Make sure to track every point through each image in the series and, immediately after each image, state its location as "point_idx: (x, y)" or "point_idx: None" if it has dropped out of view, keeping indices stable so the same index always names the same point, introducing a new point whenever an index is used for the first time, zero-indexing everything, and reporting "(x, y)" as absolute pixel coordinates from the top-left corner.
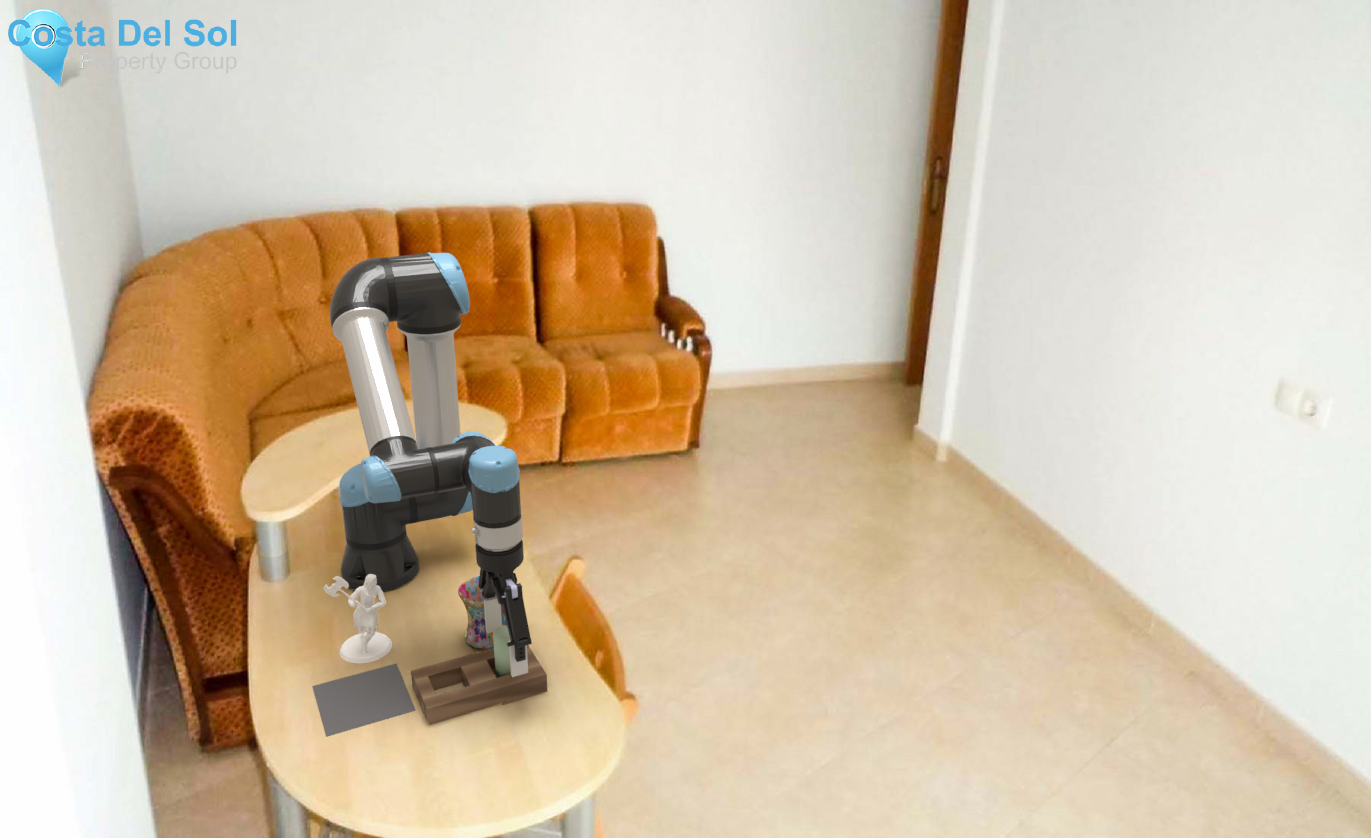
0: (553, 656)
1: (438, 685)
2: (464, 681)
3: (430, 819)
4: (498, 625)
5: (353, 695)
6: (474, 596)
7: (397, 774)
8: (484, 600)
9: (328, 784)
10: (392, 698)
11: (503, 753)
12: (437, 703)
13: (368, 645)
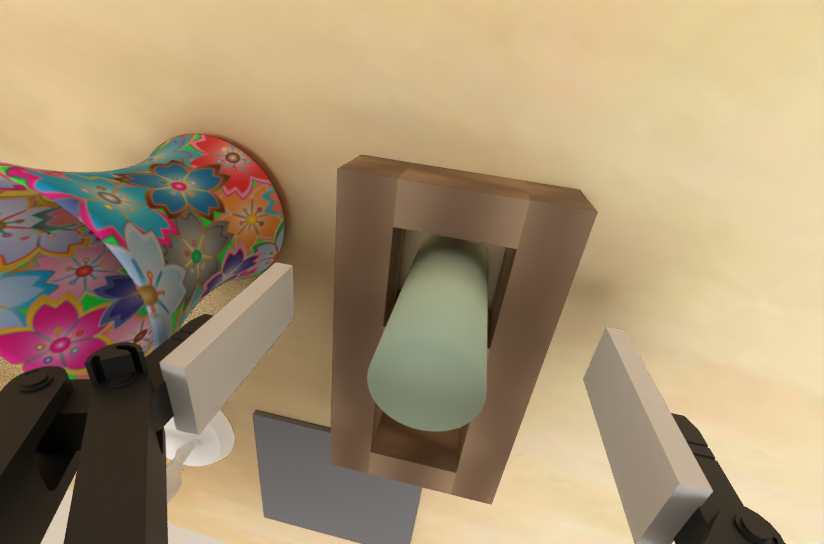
0: (415, 65)
1: None
2: None
3: None
4: (281, 290)
5: (320, 495)
6: (60, 274)
7: (578, 538)
8: (188, 432)
9: None
10: None
11: (710, 406)
12: (487, 485)
13: (177, 430)
